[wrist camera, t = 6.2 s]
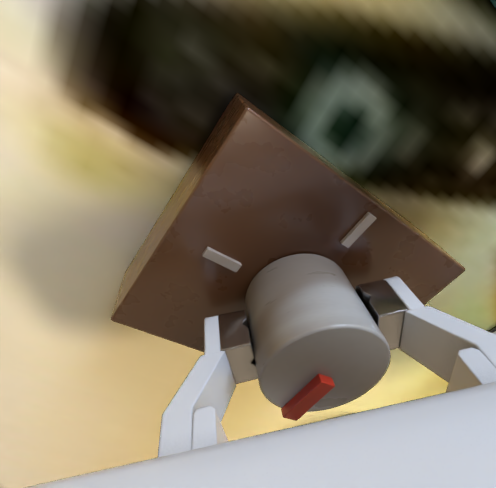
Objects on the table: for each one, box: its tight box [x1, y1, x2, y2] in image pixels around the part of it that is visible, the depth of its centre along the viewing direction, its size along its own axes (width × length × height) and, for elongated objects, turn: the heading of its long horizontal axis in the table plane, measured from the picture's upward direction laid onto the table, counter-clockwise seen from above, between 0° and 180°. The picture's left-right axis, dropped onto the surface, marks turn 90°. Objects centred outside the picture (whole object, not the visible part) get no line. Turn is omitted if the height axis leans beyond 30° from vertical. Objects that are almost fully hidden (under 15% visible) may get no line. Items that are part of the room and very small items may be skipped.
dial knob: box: [245, 254, 391, 420], centre depth 11 cm, size 4×4×4 cm
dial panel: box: [111, 93, 465, 352], centre depth 14 cm, size 11×9×3 cm
